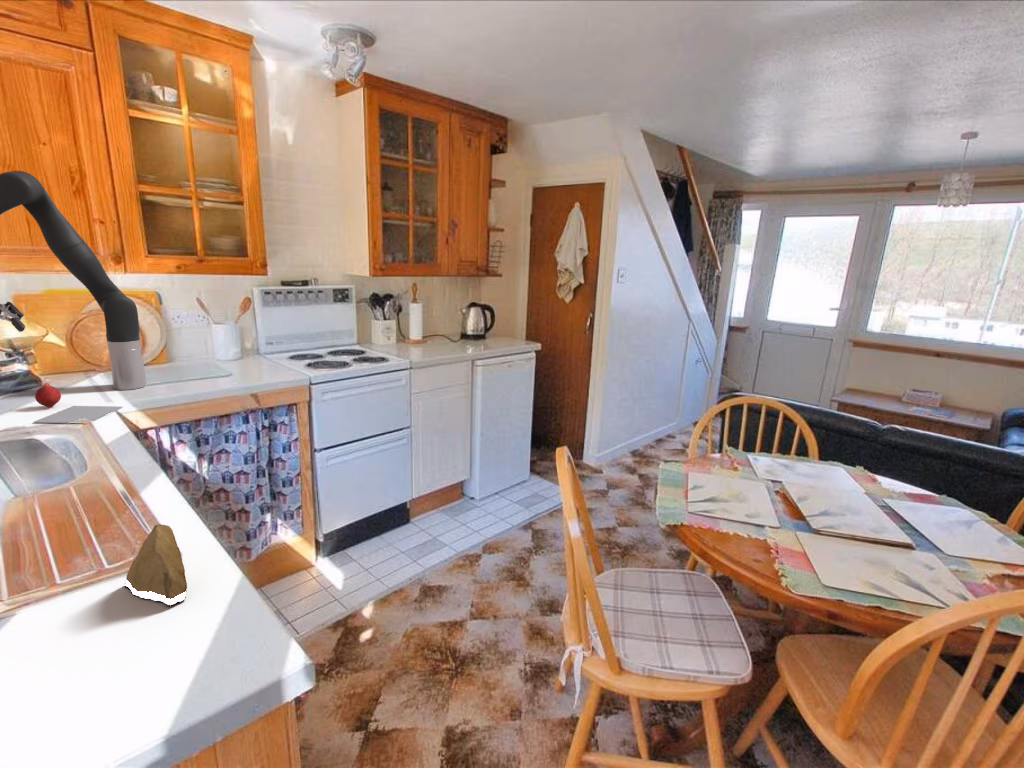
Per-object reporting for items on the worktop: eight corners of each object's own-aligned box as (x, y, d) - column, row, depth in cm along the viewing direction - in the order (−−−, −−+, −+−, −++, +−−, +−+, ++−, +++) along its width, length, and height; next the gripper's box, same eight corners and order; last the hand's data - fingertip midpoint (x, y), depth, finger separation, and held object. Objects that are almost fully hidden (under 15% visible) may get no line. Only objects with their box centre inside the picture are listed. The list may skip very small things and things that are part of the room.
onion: (47, 411, 151) (42, 385, 149) (32, 409, 152) (27, 384, 150) (67, 406, 157) (63, 381, 155) (52, 404, 158) (48, 379, 156)
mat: (73, 406, 156) (73, 405, 156) (122, 407, 158) (122, 406, 158) (32, 423, 141) (32, 422, 141) (86, 424, 143) (86, 422, 142)
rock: (207, 585, 75) (203, 545, 83) (160, 559, 70) (160, 519, 78) (142, 639, 73) (144, 592, 80) (89, 615, 68) (96, 568, 75)
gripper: (-56, 283, 142) (-16, 326, 143) (1, 281, 156) (38, 321, 157) (-67, 300, 144) (-27, 342, 145) (-9, 297, 158) (27, 336, 159)
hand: (6, 331), depth 151 cm, fingers open, 8 cm apart
